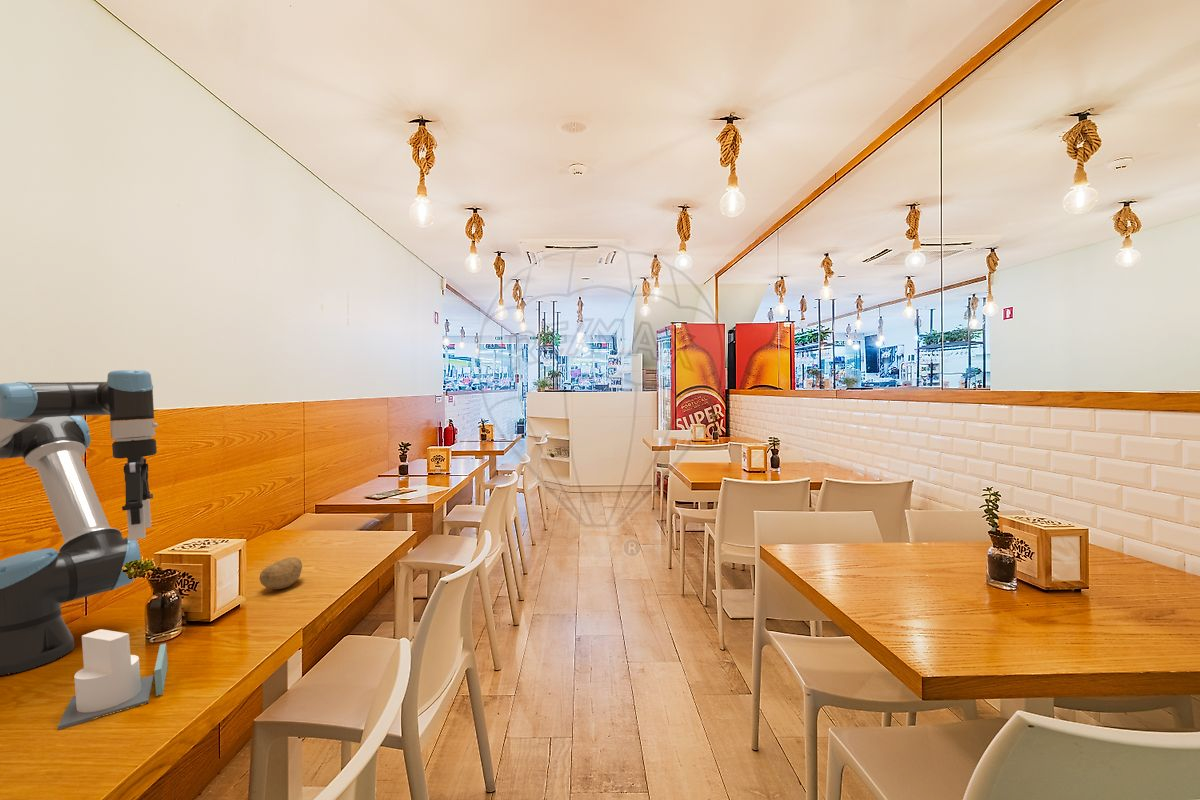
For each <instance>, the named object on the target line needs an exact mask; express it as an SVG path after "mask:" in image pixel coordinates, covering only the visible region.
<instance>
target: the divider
mask: <svg viewBox="0 0 1200 800" xmlns="http://www.w3.org/2000/svg"><path fill="white" fill-rule="evenodd" d="M167 650H168V649H167V643H162V644H159V648H158V653H157V657H156V662H155V666H154V669H153V671H154V685H155V697H156V696H157V697H159V696H158V695H161V694H163V695H164V691H165V690H164V689H165V686H164V685H165V684H166V680H165V679H166V678H167V674H168V673H167V672H168V668H169V667H168V666H169V664H168V653H167ZM167 667H168V668H167ZM166 673H167V674H166ZM163 690H164V691H163ZM161 696H162V695H161Z"/></svg>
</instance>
